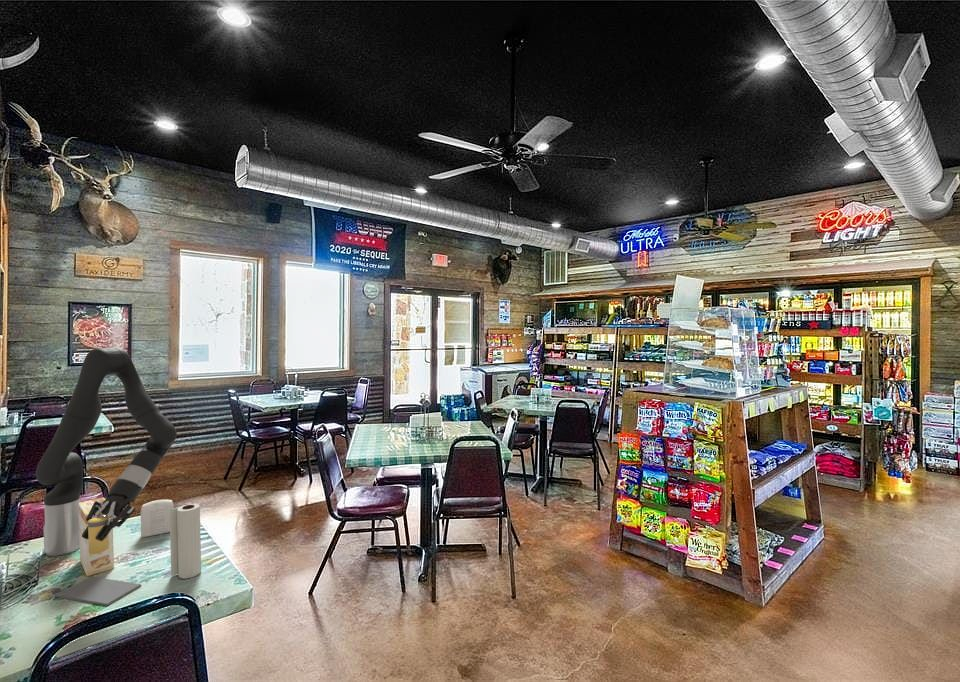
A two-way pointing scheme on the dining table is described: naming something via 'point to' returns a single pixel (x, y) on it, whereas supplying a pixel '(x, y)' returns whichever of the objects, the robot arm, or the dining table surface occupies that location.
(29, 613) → the dining table surface
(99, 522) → the yellow domed cylinder
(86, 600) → the slate mat
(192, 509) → the paper towel roll
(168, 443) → the robot arm
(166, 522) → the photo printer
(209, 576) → the dining table surface
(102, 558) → the coffeecake box
